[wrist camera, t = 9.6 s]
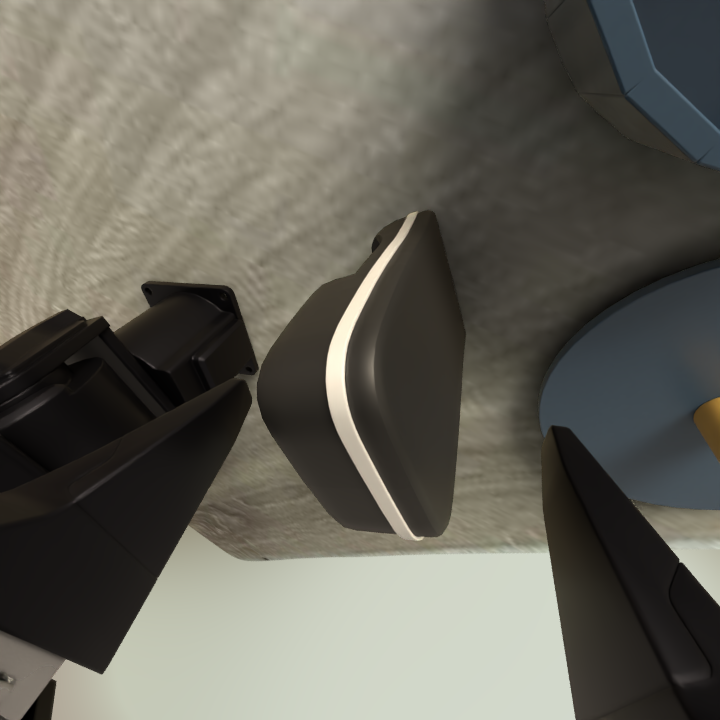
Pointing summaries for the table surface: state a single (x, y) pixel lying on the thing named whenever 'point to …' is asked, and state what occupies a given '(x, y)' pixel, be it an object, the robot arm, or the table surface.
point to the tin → (647, 69)
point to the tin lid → (648, 390)
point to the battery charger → (375, 387)
